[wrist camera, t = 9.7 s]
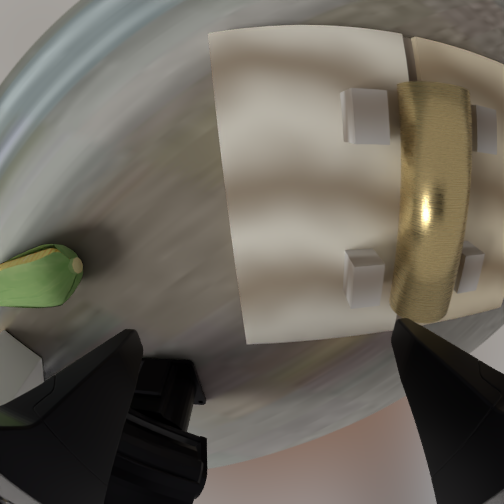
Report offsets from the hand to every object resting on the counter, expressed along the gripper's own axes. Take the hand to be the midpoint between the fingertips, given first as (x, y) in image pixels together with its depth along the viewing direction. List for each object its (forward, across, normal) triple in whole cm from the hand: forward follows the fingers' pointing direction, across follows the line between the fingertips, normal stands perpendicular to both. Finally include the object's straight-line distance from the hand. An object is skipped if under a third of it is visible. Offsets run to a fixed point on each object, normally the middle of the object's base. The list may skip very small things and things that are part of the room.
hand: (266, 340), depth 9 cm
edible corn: (+12, +24, +3) cm, 27 cm away
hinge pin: (+10, -10, -2) cm, 14 cm away
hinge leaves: (+11, -10, -2) cm, 15 cm away
